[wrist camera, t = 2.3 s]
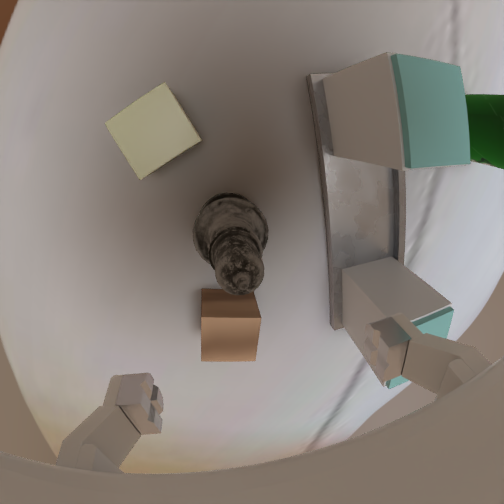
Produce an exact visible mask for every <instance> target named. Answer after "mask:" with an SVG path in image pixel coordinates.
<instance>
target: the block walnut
mask: <svg viewBox="0 0 504 504" xmlns="http://www.w3.org/2000/svg"><path fill="white" fill-rule="evenodd" d="M260 324H261V315H260V312H259V309H258V305H257V302H256V299H255V295H254V292H251V293H249V294H245V295H232V294H230V293H227V292H226V291H225V290H223V289H202V306H201V361H255V359H256V352H257V345H258V338H259V331H260Z"/></svg>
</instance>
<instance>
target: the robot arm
mask: <svg viewBox="0 0 504 504" xmlns="http://www.w3.org/2000/svg"><path fill="white" fill-rule="evenodd" d="M365 334H366V335H367V336H368V337H367V338H366V340H365V341H364V352H365V356H366V358H367V360H368V362H369V363H370V364H372V365H374V366H376V368H375V372H376V374H377V375H378V376H379V378H380V379H381V381H382V382H385V381H388V380H391V379H393V378H396V377H398V376H401V375H402V377H404V378H406V379H408V380H410V381H412V382H414V383H416V384H418V385H420V386H422V387H424V388H426V389H428V390H430V391H432V392H434V393H436V394H437V396H436V398H435V401H434V402H432V403H430V404H428V405H426V406H424V407H422V408H420V409H418V410H416V411H414V412H412V413H410V414H408V415H406V416H404V417H402V418H400V419H398V420H395V421H393V422H391V423H389V424H386V425H384V426H382V427H379V428H377V429H374V430H372V431H369V432H367V433H364V434H362V435H359V436H356V437H354V438H351V439H348V440H345V441H342V442H339V443H336V444H333V445H330V446H327V447H324V448H321V449H317V450H314V451H310V452H307V453H303V454H299V455H295V456H291V457H287V458H283V459H279V460H274V461H270V462H265V463H259V464H254V465H248V466H242V467H236V468H229V469H221V470H213V471H203V472H190V473H171V474H132V473H124V472H123V471H121V470H120V469H119V466H120V465H121V463H122V462H123V461H124V459H125V458H126V456H127V455H128V454H129V452H130V451H131V449H132V448H133V447H134V445H135V444H136V442H137V441H138V439H139V438H140V437H141V435H143V434H157V433H161V429H162V418H161V417H160V413H161V412H162V411H163V405H164V404H163V397H162V394H161V392H160V390H159V388H158V387H157V386H155V385H153V383H154V379H153V377H152V375H151V374H150V373H138V374H125V375H114V376H113V377H111V380H110V383H109V386H108V390H107V393H106V396H105V400H104V403H103V406H99V407H98V408H97V409H96V410H95V411H94V412H93V413H92V414H91V415H90V416H89V417H88V418H87V419H85V420H84V421H83V422H82V423H81V424H80V425H79V426H78V427H77V428H76V429H75V430H74V431H73V432H72V433H71V434H69V435H68V436H67V437H66V438H65V439H64V440H63V442H62V445H61V448H60V452H59V455H58V458H57V462H56V465H52V464H47V463H43V462H38V461H33V460H29V459H26V458H22V457H18V456H14V455H11V454H8V453H4V452H2V451H0V504H504V356H503V357H501V358H500V359H499V360H498V361H496V362H495V363H494V364H492V363H491V362H490V361H489V360H488V359H487V358H486V357H485V356H484V355H483V354H482V353H481V352H480V351H479V350H478V349H477V348H475V347H473V346H469V345H465V344H462V343H459V342H455V341H452V340H448V339H445V338H442V337H438V336H435V335H431V334H428V333H425V334H423V333H422V332H421V331H420V330H419V329H418V328H417V327H416V326H415V325H414V324H413V323H412V322H411V321H410V320H409V319H408V318H407V317H406V316H405V315H404V314H403V313H400V312H399V313H397V314H394V315H391V316H389V317H386V318H383V319H381V320H378V321H375V322H372V323H369V324H367V325H366V327H365Z"/></svg>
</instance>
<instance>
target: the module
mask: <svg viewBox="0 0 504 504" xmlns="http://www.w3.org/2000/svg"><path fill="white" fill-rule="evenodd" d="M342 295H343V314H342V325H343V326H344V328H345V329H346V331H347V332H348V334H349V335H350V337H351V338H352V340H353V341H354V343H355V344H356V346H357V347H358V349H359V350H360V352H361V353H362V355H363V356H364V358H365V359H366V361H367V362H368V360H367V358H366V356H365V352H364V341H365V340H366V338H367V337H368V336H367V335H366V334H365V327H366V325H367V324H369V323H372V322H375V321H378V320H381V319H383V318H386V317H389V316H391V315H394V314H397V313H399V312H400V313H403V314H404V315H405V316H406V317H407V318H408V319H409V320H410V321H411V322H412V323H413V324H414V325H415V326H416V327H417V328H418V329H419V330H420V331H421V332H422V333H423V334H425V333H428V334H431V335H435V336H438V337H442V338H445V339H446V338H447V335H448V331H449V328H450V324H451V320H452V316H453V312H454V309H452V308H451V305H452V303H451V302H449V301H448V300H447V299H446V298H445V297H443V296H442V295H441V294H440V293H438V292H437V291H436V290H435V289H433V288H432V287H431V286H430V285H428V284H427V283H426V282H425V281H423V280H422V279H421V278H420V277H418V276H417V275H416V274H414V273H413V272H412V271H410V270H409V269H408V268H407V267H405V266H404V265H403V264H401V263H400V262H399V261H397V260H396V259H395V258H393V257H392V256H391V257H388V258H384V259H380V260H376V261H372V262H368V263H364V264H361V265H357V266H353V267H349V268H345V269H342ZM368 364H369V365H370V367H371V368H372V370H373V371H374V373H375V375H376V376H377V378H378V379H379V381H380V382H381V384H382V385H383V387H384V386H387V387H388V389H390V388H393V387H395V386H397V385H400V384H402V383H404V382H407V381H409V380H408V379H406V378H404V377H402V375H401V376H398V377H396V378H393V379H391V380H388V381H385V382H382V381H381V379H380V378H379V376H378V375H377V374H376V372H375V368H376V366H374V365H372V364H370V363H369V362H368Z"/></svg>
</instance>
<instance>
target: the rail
mask: <svg viewBox="0 0 504 504" xmlns="http://www.w3.org/2000/svg"><path fill="white" fill-rule="evenodd" d="M332 74H334V73H320V74H309V75H308V76H306V78H307V83H308V89H309V95H310V101H311V107H312V113H313V119H314V126H315V133H316V140H317V147H318V155H319V163H320V172H321V181H322V190H323V200H324V211H325V223H326V236H327V250H328V268H329V290H330V324H331V326H332V328H333V329H334V330H337V329H341V328H344V326H343V325H342V314H343V295H342V269H345V268H349V267H353V266H357V265H361V264H364V263H368V262H372V261H376V260H380V259H384V258H388V257H391V256H392V257H393V258H395V259H396V260H397V261H399V262H400V263H401V264H403V265H404V252H405V227H406V188H405V171H401V170H397V169H393V168H389V167H384V166H380V165H376V164H371V163H366V162H362V161H357V160H352V159H347V158H341V157H336V156H334V151H333V143H332V135H331V128H330V121H329V114H328V108H327V101H326V95H325V90H324V84H323V78H325V77H327V76H330V75H332Z"/></svg>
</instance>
